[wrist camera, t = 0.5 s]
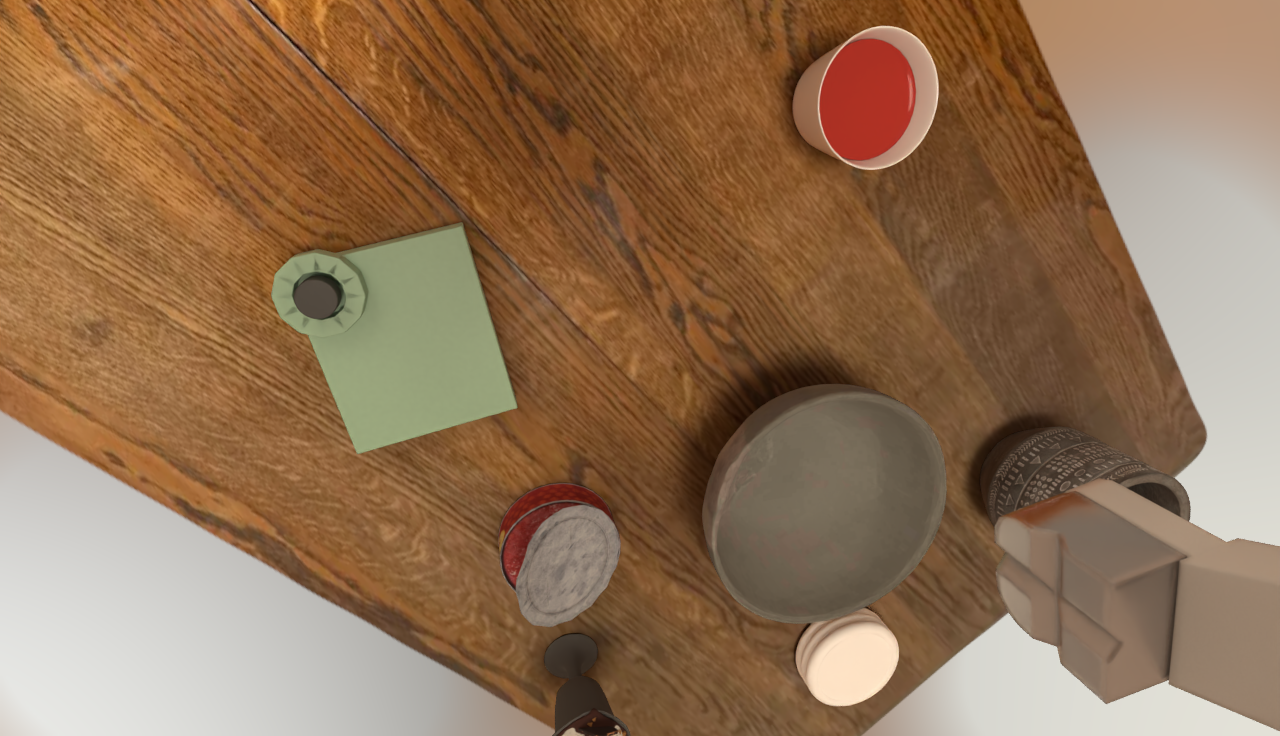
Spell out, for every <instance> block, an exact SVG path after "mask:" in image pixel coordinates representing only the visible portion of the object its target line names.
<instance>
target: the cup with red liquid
mask: <svg viewBox="0 0 1280 736" xmlns="http://www.w3.org/2000/svg"><path fill="white" fill-rule="evenodd" d="M937 102H938V77H937V72H936V68H935V65H934V62H933V59H932V57H931V55H930V53H929V52H928V50H927V48H926V47H925V46H924V45H923V43H922V42H921V41H920V40H919V39H918V38H917V37H915V36H914V35H913V34H911V33H909V32H908V31H906V30H903V29H900V28H897V27H892V26H879V27H873V28H870V29H867V30H864V31H862V32H860V33H858V34H856V35H854V36H853V37H851V38H849V39H848V40H846V41H845V42H843V43H842V44H840V45H838V46H837V47H835V48H834V49H832V50H831V51H829V52H828V53H826V54H825V55H823V56H822V57H820V58H819V59H817V60H816V61H815V62H813V63H812V64H811V65H810V66H809V67H808V68H807V69H806V71H805V72H804V73H803V75H802V76H801V78H800V80H799V82H798V84H797V86H796V89H795V93H794V97H793V117H794V121H795V124H796V127H797V129H798V131H799V133H800V135H801V136H802V137H803V139H804V140H805V141H806V142H807V143H808V144H810V145H811V146H813V147H814V148H816V149H818V150H820V151H822V152H823V153H826V154H828V155H830V156H832V157H834V158H836V159H838V160H840V161H842V162H844V163H846V164H848V165H851V166H853V167H856V168H860V169H866V170H876V169H882V168H886V167H889V166H892V165H894V164H896V163H898V162H900V161H901V160H903V159H904V158H906V157H907V156H908V155H909V154H910V153H912V152H913V151H914V150H915V149H916V147H917V146H918V145H919V144H920V143H921V141H922V140H923V138H924V137H925V135H926V134H927V132H928V130H929V128H930V126H931V123H932V121H933V118H934V115H935V112H936V107H937Z"/></svg>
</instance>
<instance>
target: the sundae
mask: <svg viewBox="0 0 1280 736" xmlns="http://www.w3.org/2000/svg"><path fill="white" fill-rule="evenodd" d="M597 653H598V650H597V646H596V644H595V642H594V641H593V640H592V639H591V638H589V637H588V636H585V635H582V634H568V635H565V636H563V637H560V638H558V639H557V640H555V641H554V642H553V643H552V644H551V645H550V646H549V647H548V649H547V651H546V652H545V657H544V663H545V666H546V668H547V670H548V671H549V672H550V673H551V674H553V675H555V676H557V677H560V678H569V680H568V681H567V682H566V683H565V684H564V685H563V686H562V687H561V688H560V689H559V691H558V692H557V697H556V705H555V733H554V734H553V735H552V736H630V732H629V729H628V728H627V726H626V725H625V724H624V723H623V722H622V721H621V720H620V719H618V718H617V717H615V716H614V715H613V713H612V710H611V708H610V705H609V703H608V701H607V698H606V696H605V694H604V692H603V690H602V689H601V687H600V685H599V684H598V683H597V682H596V681H595V680H594V679H591V678H589V677H585V676H582V674H583V673H585V672H586V671H587V670H589V669H590V668H591V667H592V666H593V664H594V663H595V661H596V659H597Z"/></svg>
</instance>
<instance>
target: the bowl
mask: <svg viewBox="0 0 1280 736" xmlns="http://www.w3.org/2000/svg"><path fill="white" fill-rule="evenodd" d="M946 492H947V491H946V469H945V463H944V457H943V453H942V450H941V446H940V444H939V442H938V439H937V437H936V436H935V434H934V432H933V431H932V429H931V427H930V426H929V425H928V424H927V423H926V422H925V420H924V419H923V418H922V417H921V416H920V415H919V414H918V413H917V412H915V411H914V410H913V409H911V408H910V407H908V406H907V405H905V404H903V403H902V402H900V401H898V400H896V399H894V398H892V397H890V396H888V395H885V394H883V393H880V392H878V391H876V390H872V389H869V388H865V387H860V386H855V385H847V384H820V385H813V386H807V387H803V388H799V389H796V390H793V391H790V392H787V393H785V394H783V395H780V396H778V397H776V398H774V399H772V400H770V401H769V402H767V403H765V404H764V405H762V406H761V407H760V408H758V409H757V410H756V411H755V412H754V413H752V414H751V415H750V416H749V417H748V418H747V419H746V420H745V421H744V422H743V424H742V425H741V426H740V427H739V428H738V429H737V431H736V432H735V433H734V434H733V435H732V437H731V438H730V439H729V440H728V442H727V443H726V444H725V446H724V447H723V449H722V450H721V452H720V454H719V455H718V457H717V460H716V463H715V465H714V467H713V470H712V473H711V476H710V478H709V481H708V484H707V488H706V492H705V497H704V503H703V511H702V520H703V527H704V533H705V539H706V543H707V548H708V552H709V555H710V558H711V561H712V563H713V565H714V567H715V570H716V572H717V574H718V575H719V577H720V579H721V581H722V582H723V584H724V586H725V588H726V589H727V590H728V592H729V593H730V594H731V596H732V597H733V598H734V599H735V600H736V601H737V602H738V603H739V604H741V605H742V606H744V607H745V608H747V609H748V610H750V611H751V612H753V613H755V614H757V615H759V616H761V617H763V618H766V619H770V620H774V621H778V622H783V623H794V624H803V623H815V622H822V621H828V620H832V619H836V618H840V617H843V616H845V615H848V614H851V613H853V612H855V611H858V610H860V609H862V608H864V607H866V606H868V605H870V604H872V603H873V602H875V601H877V600H878V599H880V598H881V597H883V596H885V595H886V594H887V593H889V592H890V591H891V590H893V589H894V588H895V587H896V586H898V585H899V584H900V583H901V582H902V581H903V580H904V579H905V578H906V577H907V576H908V575H909V574H910V573H911V572H912V571H913V570H914V569H915V568H916V566H917V565H918V564H919V562H920V561H921V559H922V558H923V557H924V555H925V554H926V552H927V550H928V549H929V547H930V545H931V543H932V541H933V540H934V537H935V535H936V533H937V531H938V528H939V525H940V523H941V519H942V516H943V512H944V507H945V503H946Z"/></svg>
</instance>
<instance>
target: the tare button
mask: <svg viewBox="0 0 1280 736" xmlns="http://www.w3.org/2000/svg"><path fill="white" fill-rule="evenodd" d="M294 302H295V305H296V307H297V309H298V310H299V311H300V312H301V313H302V314H304V315H305V316H307V317H309V318H313V319H323V318H327V317H329V316H330V315H332V314H333V313H334V312H335V310H336V309H337V308H338V306H339V305H340V302H341V291H340V289H339V287H338V285H337V284H336V283H335V282H334V281H333V280H331V279H330V278H327V277H325V276H311V277H309V278H307V279H305V280H304V281H303V282H302V283H301V284H300V285H299V286H298V287H297V288H296V290H295V293H294Z"/></svg>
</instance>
